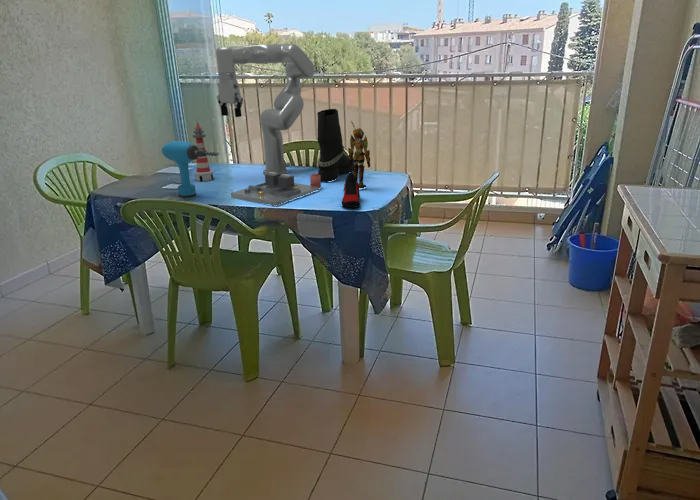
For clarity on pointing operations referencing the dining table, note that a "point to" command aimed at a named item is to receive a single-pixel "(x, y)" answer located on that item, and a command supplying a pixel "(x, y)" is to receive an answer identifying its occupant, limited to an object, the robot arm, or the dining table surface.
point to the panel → (273, 193)
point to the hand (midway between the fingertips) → (231, 116)
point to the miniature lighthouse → (202, 158)
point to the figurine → (359, 154)
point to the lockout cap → (315, 180)
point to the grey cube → (285, 180)
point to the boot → (331, 147)
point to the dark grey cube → (271, 178)
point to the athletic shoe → (351, 192)
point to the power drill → (184, 162)
